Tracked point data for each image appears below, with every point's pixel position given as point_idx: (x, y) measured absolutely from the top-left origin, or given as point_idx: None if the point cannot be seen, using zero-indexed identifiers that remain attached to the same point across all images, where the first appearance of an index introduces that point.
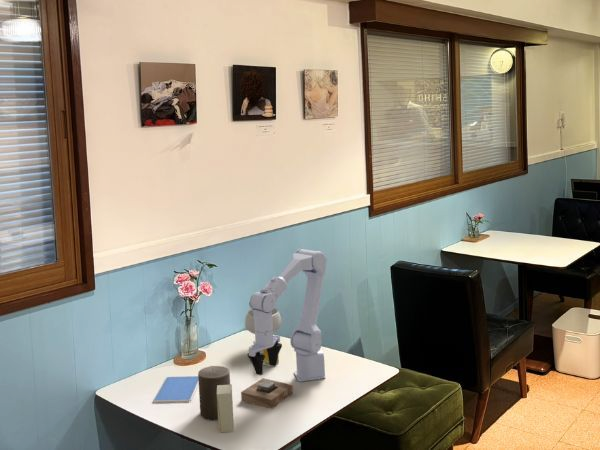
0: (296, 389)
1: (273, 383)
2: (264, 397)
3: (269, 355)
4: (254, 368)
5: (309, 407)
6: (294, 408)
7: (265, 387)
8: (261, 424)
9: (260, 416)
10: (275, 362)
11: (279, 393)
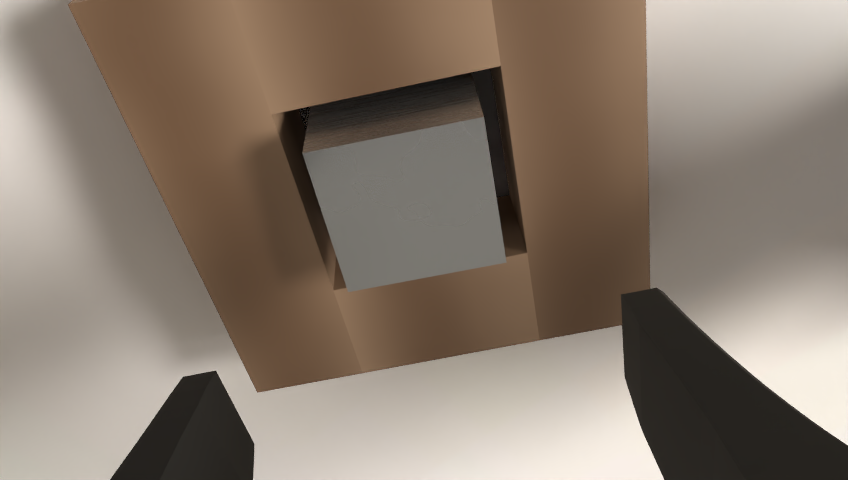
0: (719, 217)
1: (480, 263)
2: (232, 318)
3: (708, 453)
4: (127, 462)
5: (489, 469)
6: (406, 421)
7: (339, 260)
8: (42, 428)
9: (104, 348)
10: (651, 448)
11: (408, 355)
